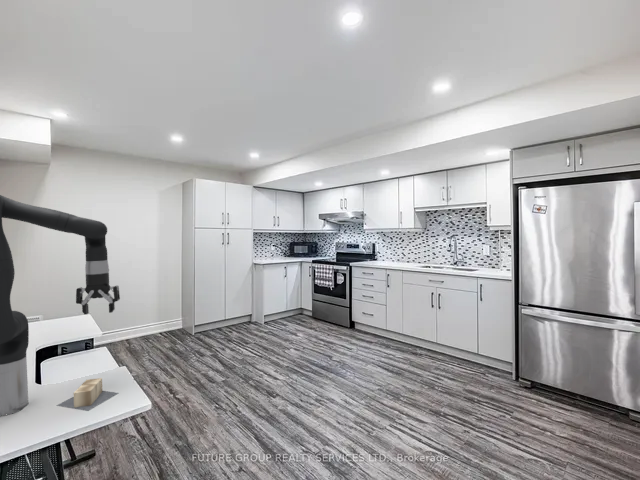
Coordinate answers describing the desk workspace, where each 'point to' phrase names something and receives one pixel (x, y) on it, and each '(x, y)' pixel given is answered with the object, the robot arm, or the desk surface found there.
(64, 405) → the rubber mat
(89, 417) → the desk surface
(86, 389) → the maple block
